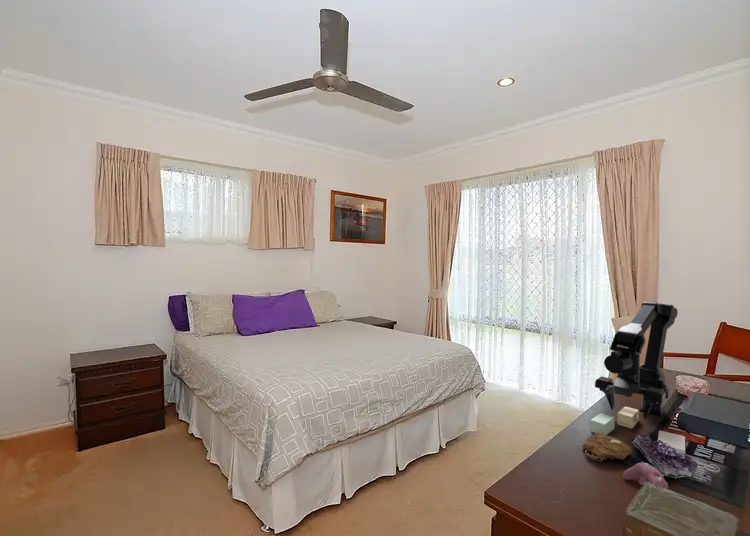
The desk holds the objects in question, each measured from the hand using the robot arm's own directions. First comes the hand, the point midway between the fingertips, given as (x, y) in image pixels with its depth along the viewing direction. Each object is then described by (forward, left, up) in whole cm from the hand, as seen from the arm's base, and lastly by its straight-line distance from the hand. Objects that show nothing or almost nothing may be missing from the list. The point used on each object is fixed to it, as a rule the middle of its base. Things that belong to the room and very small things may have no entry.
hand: (628, 413), depth 121 cm
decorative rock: (+27, +1, -4) cm, 27 cm away
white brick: (+10, +13, -3) cm, 17 cm away
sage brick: (+12, -4, -3) cm, 13 cm away
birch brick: (0, 0, -3) cm, 3 cm away
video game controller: (+38, +13, -3) cm, 40 cm away
